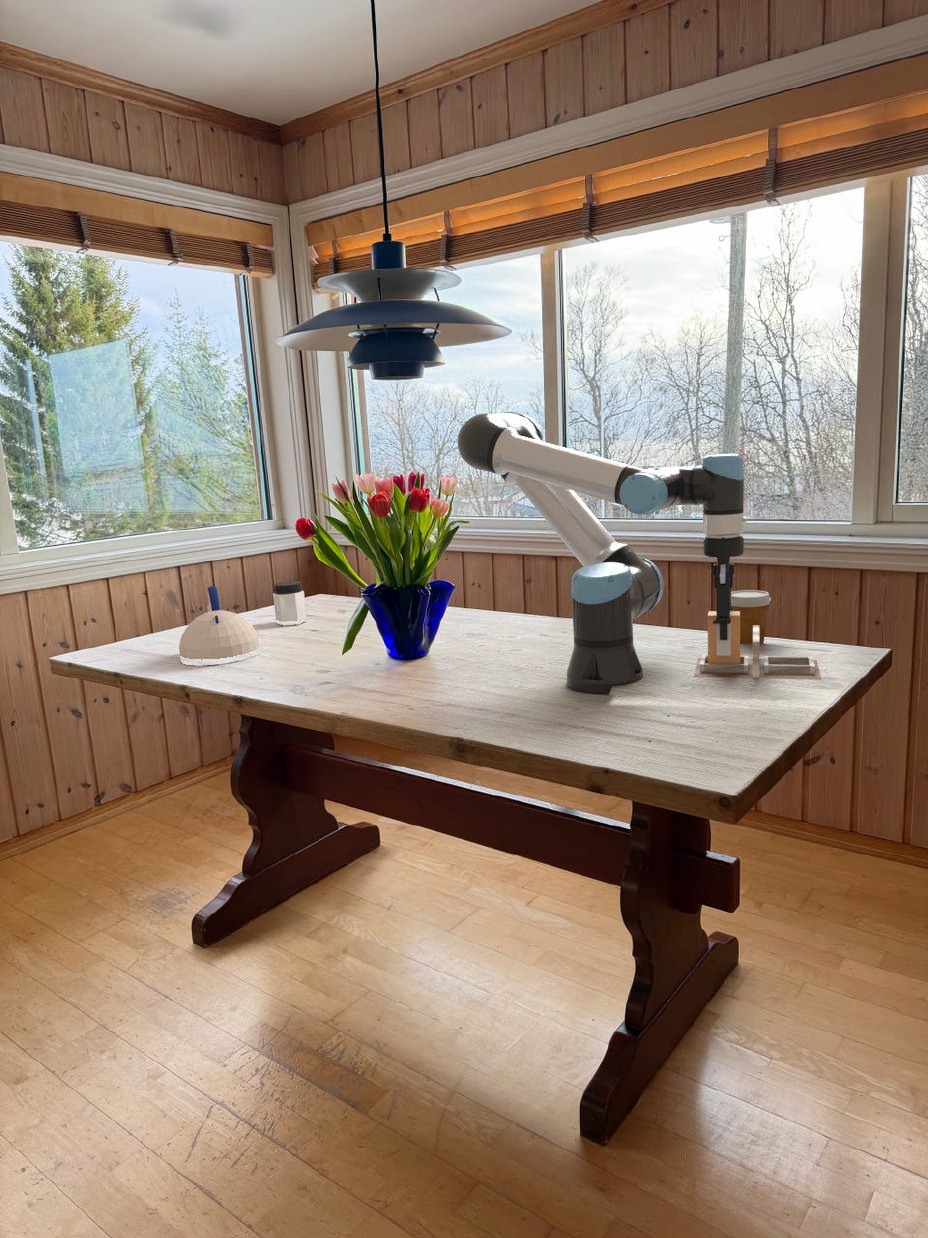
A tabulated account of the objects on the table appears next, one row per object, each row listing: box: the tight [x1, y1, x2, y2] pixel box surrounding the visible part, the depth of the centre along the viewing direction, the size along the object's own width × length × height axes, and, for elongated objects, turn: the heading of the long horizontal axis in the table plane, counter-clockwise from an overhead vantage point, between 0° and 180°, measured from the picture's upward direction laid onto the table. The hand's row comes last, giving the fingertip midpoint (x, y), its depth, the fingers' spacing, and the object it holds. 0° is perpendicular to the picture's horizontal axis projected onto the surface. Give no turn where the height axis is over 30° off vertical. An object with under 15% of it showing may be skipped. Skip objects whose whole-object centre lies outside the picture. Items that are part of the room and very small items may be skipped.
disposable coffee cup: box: [731, 589, 772, 645], centre depth 193 cm, size 10×10×12 cm
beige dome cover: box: [178, 585, 261, 660], centre depth 219 cm, size 20×21×18 cm
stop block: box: [707, 610, 741, 664], centre depth 172 cm, size 4×6×11 cm, turn 72°
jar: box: [272, 580, 308, 622], centre depth 254 cm, size 9×8×12 cm
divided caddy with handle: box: [693, 625, 822, 680], centre depth 171 cm, size 14×23×8 cm, turn 72°
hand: (724, 652), depth 173 cm, fingers closed on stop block, 4 cm apart
